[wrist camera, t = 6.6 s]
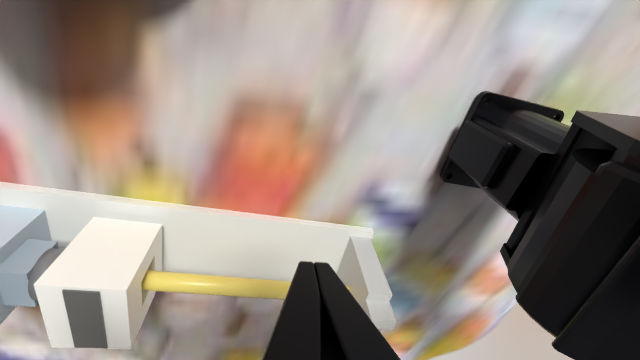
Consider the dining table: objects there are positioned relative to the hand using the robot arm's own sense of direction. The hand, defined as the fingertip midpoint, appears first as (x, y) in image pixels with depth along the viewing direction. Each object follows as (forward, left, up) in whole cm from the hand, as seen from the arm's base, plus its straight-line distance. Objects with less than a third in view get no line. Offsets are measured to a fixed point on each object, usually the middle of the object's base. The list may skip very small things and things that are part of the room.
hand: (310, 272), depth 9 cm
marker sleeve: (+9, +10, -11) cm, 18 cm away
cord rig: (+5, +10, -12) cm, 16 cm away
